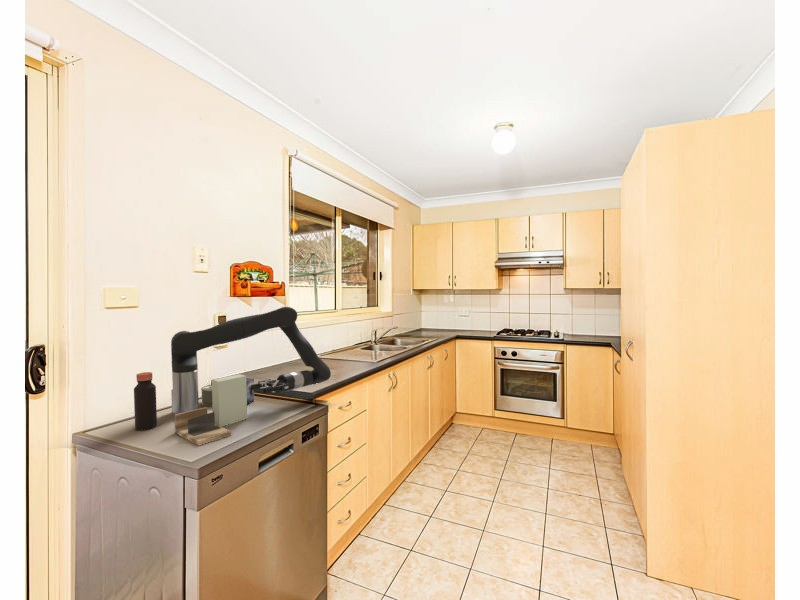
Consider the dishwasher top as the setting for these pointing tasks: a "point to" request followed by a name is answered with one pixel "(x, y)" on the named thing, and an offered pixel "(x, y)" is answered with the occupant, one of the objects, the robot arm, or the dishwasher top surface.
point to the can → (207, 395)
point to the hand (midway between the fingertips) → (257, 389)
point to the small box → (249, 390)
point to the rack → (199, 426)
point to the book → (229, 399)
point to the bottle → (145, 402)
